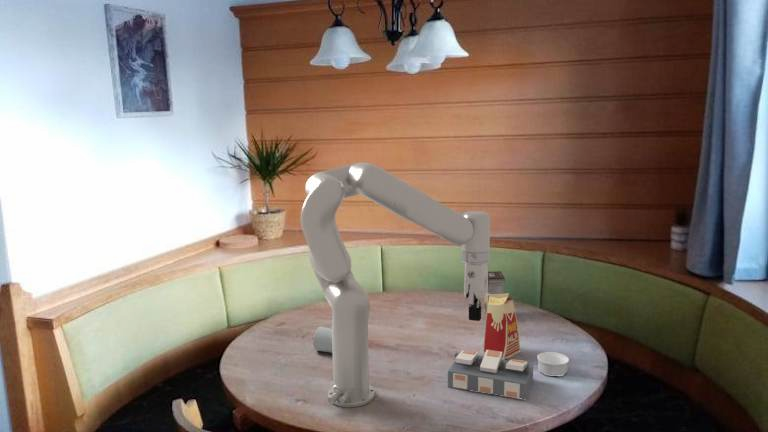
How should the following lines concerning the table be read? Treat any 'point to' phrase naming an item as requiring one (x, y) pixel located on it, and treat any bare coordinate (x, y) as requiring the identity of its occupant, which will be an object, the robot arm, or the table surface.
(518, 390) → the switch unit
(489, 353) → the block
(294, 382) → the table surface
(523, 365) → the rocker
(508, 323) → the milk carton
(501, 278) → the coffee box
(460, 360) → the rocker
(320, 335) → the ceramic mug
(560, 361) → the ramekin
